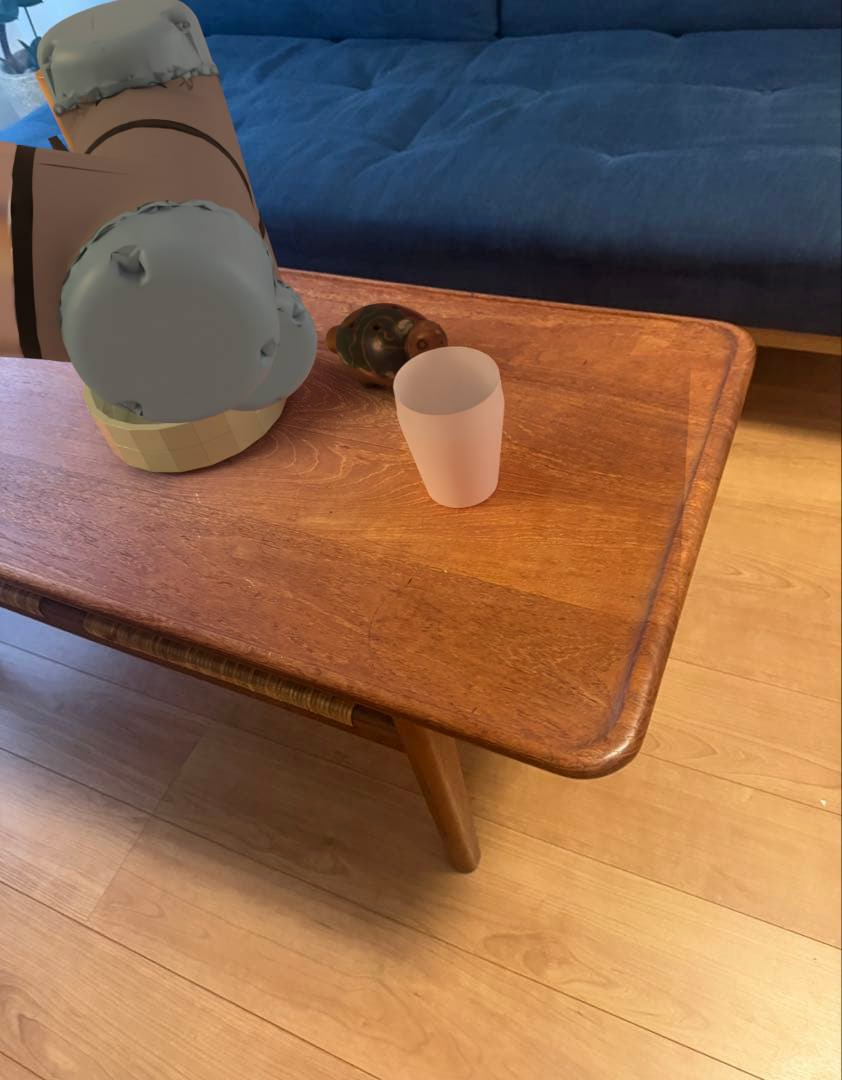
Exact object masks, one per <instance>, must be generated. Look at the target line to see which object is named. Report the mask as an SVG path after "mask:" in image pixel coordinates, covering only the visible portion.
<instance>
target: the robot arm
mask: <svg viewBox="0 0 842 1080" xmlns="http://www.w3.org/2000/svg"><path fill="white" fill-rule="evenodd" d="M36 58H37V63H38V67H39V69H41V71H42V74H43V76H44V79H45V82H46V84H47V87H48V89H49V92H50V94H51V97H52V99H53V102H54V103H53V110H54V112H55V115H56V116H57V117H60V119H61V121H62V122H63V124H64V126H65V128H66V130H67V132H68V134H69V136H70V138H71V141H72V144H73V146H74V149H75V152H71V151H70V149H69V148H67V146H66V145H65V144H64V143H63V141H62V140H61V139H60V137H59V136H58V135H57V134H56V135H52V136H50V137H48V138H47V140H48V142H49V144H50V147H51V148H46V147H38V146H32V145H26V144H25V145H24V144H18V143H16V142H11V141H3V140H0V358H10V359H11V358H13V359H26V360H27V359H28V360H42V361H50V362H51V361H52V362H58V363H59V362H60V363H71V364H72V366H73V368H74V370H75V371H76V373H77V374H78V376H79V378H80V379H81V380H82V382H83V383H84V385H85V384H86V385H87V386H88V387H89V388H90V389H91V390H92V391H93V392H94V393H95V394H96V395H97V396H99V397H100V398H101V399H102V400H104V401H106V402H107V403H109V404H111V405H115V406H117V407H119V408H121V409H123V410H125V411H128V412H130V413H133V414H136V415H138V416H139V417H140V418H141V419H145V420H149V421H153V422H161V423H188V422H195V421H199V420H204V419H207V418H210V417H214V416H217V415H219V414H221V413H224V412H226V411H228V410H230V409H231V410H236V411H256V410H261V409H264V408H267V407H269V406H272V405H275V404H277V403H278V402H280V401H282V400H284V399H286V398H287V399H288V398H289V397H290V396H291V395H292V394H293V393H295V392H296V391H297V390H298V389H299V388H300V387H301V386H302V385H303V384H304V382H305V381H306V379H307V378H308V376H309V375H310V373H311V371H312V368H313V367H314V364H315V361H316V357H317V353H318V333H317V332H318V331H317V328H316V327H317V326H316V324H315V321H314V319H313V317H312V315H311V313H310V311H309V310H308V309H307V308H306V306H305V304H303V300H302V298H301V296H300V295H299V294H298V293H296V292H295V289H294V288H293V287H292V286H290V285H289V284H287V283H285V282H284V280H283V278H282V275H281V273H280V271H279V267H278V264H277V260H276V257H275V254H274V250H273V247H272V244H271V241H270V238H269V235H268V231H267V229H266V226H265V223H264V221H263V217H262V214H261V212H260V210H259V209H258V206H257V202H256V199H255V195H254V191H253V188H252V185H251V184H252V183H251V181H250V177H249V173H248V171H247V167H246V163H245V160H244V157H243V153H242V150H241V146H240V143H239V140H238V137H237V133H236V130H235V127H234V124H233V123H234V122H233V120H232V116H231V113H230V110H229V106H228V104H227V100H226V97H225V93H224V91H223V90H224V89H223V87H222V84H221V79H220V78H221V75H220V72H219V70H220V69H219V68H218V66H217V65H216V63H215V62H214V61H213V59H212V55H211V53H210V50H209V47H208V44H207V41H206V39H205V36H204V32H203V30H202V27H201V25H200V22H199V19H198V18H197V16H196V14H195V13H194V11H193V10H192V9H191V8H190V7H189V6H188V5H187V4H185V3H184V2H182V1H180V0H112V1H109V2H105V3H101V4H97V5H94V6H92V7H89V8H86V9H84V10H81V11H78V12H76V13H73V14H71V15H70V16H68V17H66V18H63V19H62V20H60V21H58V22H57V23H56V24H54V25H53V26H51V27H50V28H49V29H48V30H46V32H45V33H44V34H43V36H42V37H41V38H40V40H39V42H38V45H37V50H36Z"/></svg>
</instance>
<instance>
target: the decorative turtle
mask: <svg viewBox="0 0 842 1080" xmlns="http://www.w3.org/2000/svg"><path fill="white" fill-rule="evenodd" d="M325 345H326V346H327V347H328V349H329V350H330V352H332V353H333V354H335V355H337V356H338V358H339V360H340V362H341V363H342V364H343V366H344V367H345V369H347V370H348V371H349V372H350V374H351V375H352V376H353V377H354V379H355V381H356V382H357V383H358V384H359V385H361V386H362V387H363V388H365V389H370V388H373V387H375V386H376V385H379V386H382V387H383V388H385V390H387V391H388V392H389V393H390V394H392V395H393V396H394V397H395V395H394V388H393V384H394V379H395V377H396V375H397V373H398V371H399V370H400V369H401V368H402V367H403V365H405V364H406V363H407V362H408V361H409V360H411V359H412V358H414V357H416V356H418V355H419V354H422V353H424V352H427V351H430V350H433V349H437V348H442V347H449V340H448V336H447V333H446V332H445V331H444V329H443V327H442V326H441V325H440V324H439V323H437V322H436V321H434V320H431V319H428V318H427V317H426V316H425V315H423V314H422V313H420V312H419V311H416V310H415V309H413V308H411V307H408V306H405V305H403V304H398V303H394V302H393V303H392V302H377V303H371V304H367V305H364V306H361V307H359V308H357V309H356V310H354V311H352V312H351V313H349V314H348V315H347V316H346V317H345V318H344V319H343V320H342V322H341V323H340V324H337V325H334V326H332V327H330V328H329V329H328V330H327V332H326V334H325Z"/></svg>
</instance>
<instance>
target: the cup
mask: <svg viewBox="0 0 842 1080" xmlns="http://www.w3.org/2000/svg"><path fill="white" fill-rule="evenodd" d="M502 386H503V385H502V381H501V375H500V370H499V367H498V364H497V363H496V361H495V360H494V359H493V358H492V357H491V356H489V354H486V353H485V352H483V351H481V350H478V349H476V348H472V347H467V346H448V347H442V348H437V349H433V350H430V351H427V352H424V353H422V354H419V355H418V356H416V357H414V358H412V359H411V360H409V361H408V362H407V363H406V364H405V365H403V367H402V368H401V369H400V370H399V371H398V373H397V375H396V377H395V379H394V384H393V388H394V395H395V396H394V395H393V396H394V400H395V407H396V408H395V409H396V416H397V417H396V418H397V421H398V424H399V427H400V430H401V432H402V435H403V437H404V439H405V441H406V444H407V446H408V449H409V451H410V453H411V456H412V458H413V460H414V463H415V466H416V468H417V470H418V472H419V475H420V478H421V479H422V482H423V485H424V487H425V489H426V492H427V494H428V496H429V497H430V498H431V499H432V500H433V501H434V502H435V503H437V504H439V505H441V506H444V507H446V508H452V509H465V508H470V507H474V506H476V505H479V504H481V503H483V502H484V501H486V500H487V499H489V498H490V497H491V496H492V495H493V494H494V492H495V491H496V489H497V486H498V484H499V483H498V482H499V475H500V473H499V472H500V463H501V451H502V449H501V448H502V439H503V437H502V436H503V427H504V416H505V397H504V392H503V387H502Z"/></svg>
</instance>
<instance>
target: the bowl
mask: <svg viewBox="0 0 842 1080" xmlns="http://www.w3.org/2000/svg"><path fill="white" fill-rule="evenodd" d="M82 391H83V392H82V397H83V400H84V403H85V405H86V408H87V410H88V413H89V414H90V416H91V418H92V419H93V421H94V422H95V424H96V426H97V427H98V429H99V431H100V433H101V434H102V436H103V439H104V440H105V441H106V443H107V444H108V446H109V448H110V449H111V451H112V453H113V454H114V455H115V456H116V457H118V458H119V459H120V460H122V461H123V462H124V463H125V464H127V465H128V466H130V467H134V468H138V469H140V470H143V471H147V472H150V473H184V472H188V471H193V470H197V469H201V468H206V467H211V466H213V465H216V464H217V463H220V462H222V461H224V460H227V459H228V458H231V457H234V456H235V455H238V454H240V453H241V452H243V451H244V450H246V449H247V448H249V447H250V446H251V445H252V444H254V443H256V441H258V440H260V439H261V438H263V437H264V436H265V435H266V434H267V432H268V431H269V430H270V429H271V428H272V426H273V425H274V424H275V423H276V422H277V420H278V419H279V418H280V417H281V415H282V412H283V410H284V408H285V405H286V402H287V400H288V397H287V398H286V399H284V400H282V401H280V402H278V403H277V404H275V405H272V406H269V407H267V408H264V409H261V410H256V411H236V410H231V409H230V410H228V411H226V412H224V413H221V414H219V415H217V416H214V417H210V418H207V419H204V420H199V421H195V422H188V423H161V422H153V421H149V420H145V419H141V418H140V417H139V416H138V415H136V414H133V413H130V412H128V411H125V410H123V409H121V408H119V407H117V406H115V405H111V404H109V403H107V402H106V401H104V400H102V399H101V398H100V397H99V396H97V395H96V394H95V393H94V392H93V391H92V390H91V389H90V388H89V387H88V386H87V385H86V384H85V383H84V386H83V390H82Z"/></svg>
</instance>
